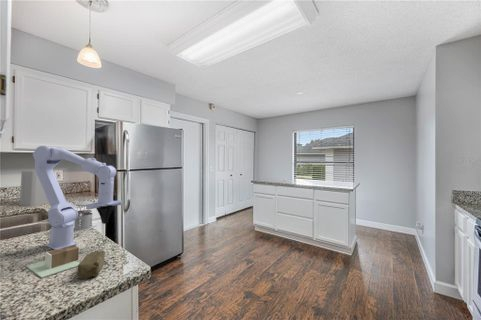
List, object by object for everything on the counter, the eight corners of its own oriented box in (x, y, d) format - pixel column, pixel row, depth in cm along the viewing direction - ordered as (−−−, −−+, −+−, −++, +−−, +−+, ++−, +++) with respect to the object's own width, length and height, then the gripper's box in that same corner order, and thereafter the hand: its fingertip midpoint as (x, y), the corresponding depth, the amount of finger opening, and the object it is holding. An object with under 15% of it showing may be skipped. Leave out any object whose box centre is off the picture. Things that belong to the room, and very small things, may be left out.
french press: (76, 233, 112) (79, 184, 113) (67, 229, 118) (69, 183, 119) (97, 228, 120) (99, 183, 121) (87, 225, 126) (89, 182, 127)
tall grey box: (15, 207, 168) (17, 171, 168) (21, 204, 180) (22, 170, 181) (48, 205, 179) (50, 171, 179) (51, 202, 191) (52, 170, 192)
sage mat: (26, 266, 75) (26, 265, 75) (64, 255, 85) (64, 254, 85) (41, 278, 68) (41, 277, 68) (81, 265, 77) (81, 264, 77)
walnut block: (72, 256, 83) (44, 265, 76) (73, 245, 83) (45, 252, 76) (78, 259, 81) (50, 268, 74) (78, 247, 81) (50, 255, 74)
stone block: (105, 263, 80) (105, 249, 80) (97, 278, 69) (98, 262, 70) (86, 265, 78) (87, 251, 78) (76, 281, 67) (76, 265, 67)
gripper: (92, 195, 88) (91, 228, 88) (126, 191, 101) (125, 221, 101) (84, 193, 92) (82, 225, 92) (118, 190, 105) (117, 218, 104)
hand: (104, 223), depth 96 cm, fingers closed
